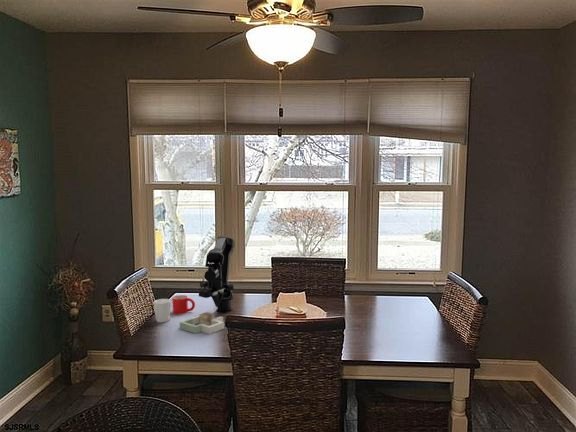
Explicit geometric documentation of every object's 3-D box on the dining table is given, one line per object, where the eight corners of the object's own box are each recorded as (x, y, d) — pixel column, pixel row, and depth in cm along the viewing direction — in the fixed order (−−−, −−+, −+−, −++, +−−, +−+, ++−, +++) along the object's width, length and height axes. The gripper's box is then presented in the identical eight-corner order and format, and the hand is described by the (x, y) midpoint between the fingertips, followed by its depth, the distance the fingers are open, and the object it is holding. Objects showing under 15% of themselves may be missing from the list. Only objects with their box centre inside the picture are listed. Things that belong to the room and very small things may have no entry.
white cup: (166, 323, 244) (165, 303, 243) (152, 322, 246) (151, 303, 244) (173, 318, 252) (172, 299, 250) (159, 317, 253) (158, 298, 252)
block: (207, 321, 246) (207, 311, 245) (214, 323, 242) (213, 313, 242) (199, 324, 242) (199, 314, 241) (206, 326, 239) (206, 316, 238)
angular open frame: (207, 318, 250) (207, 312, 250) (231, 325, 239) (231, 319, 238) (179, 328, 237) (179, 322, 236) (203, 336, 225) (203, 329, 225)
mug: (193, 314, 257) (192, 299, 256) (171, 314, 258) (170, 299, 257) (197, 309, 265) (196, 295, 264) (175, 309, 266) (174, 295, 265)
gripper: (218, 270, 257) (220, 299, 259) (190, 278, 243) (192, 308, 245) (233, 273, 250) (234, 303, 252) (205, 281, 236) (207, 312, 238)
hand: (217, 306), depth 247 cm, fingers closed
